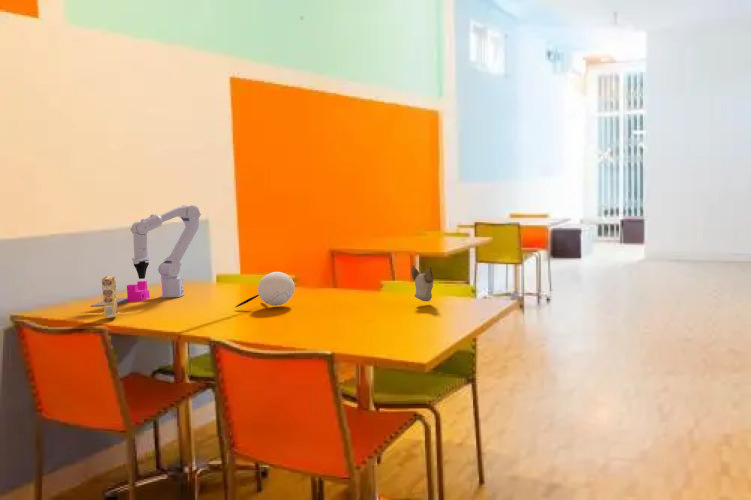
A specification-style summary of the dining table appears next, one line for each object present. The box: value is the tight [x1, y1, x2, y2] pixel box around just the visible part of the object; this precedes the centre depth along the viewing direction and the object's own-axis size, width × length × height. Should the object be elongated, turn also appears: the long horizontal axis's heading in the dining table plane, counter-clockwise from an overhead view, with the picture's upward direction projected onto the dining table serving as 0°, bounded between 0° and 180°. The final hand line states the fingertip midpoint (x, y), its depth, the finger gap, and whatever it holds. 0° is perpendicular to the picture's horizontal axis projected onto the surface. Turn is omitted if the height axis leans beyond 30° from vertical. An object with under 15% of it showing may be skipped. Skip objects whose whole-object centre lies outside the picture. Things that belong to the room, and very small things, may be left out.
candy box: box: [101, 275, 119, 319], centre depth 282 cm, size 9×4×15 cm, turn 13°
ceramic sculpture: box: [410, 265, 434, 302], centre depth 289 cm, size 11×9×15 cm
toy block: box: [126, 280, 150, 303], centre depth 326 cm, size 15×6×8 cm, turn 178°
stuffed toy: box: [235, 271, 295, 308], centre depth 295 cm, size 19×14×25 cm
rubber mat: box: [90, 297, 128, 307], centre depth 318 cm, size 11×20×1 cm, turn 177°
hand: (141, 278), depth 321 cm, fingers closed
